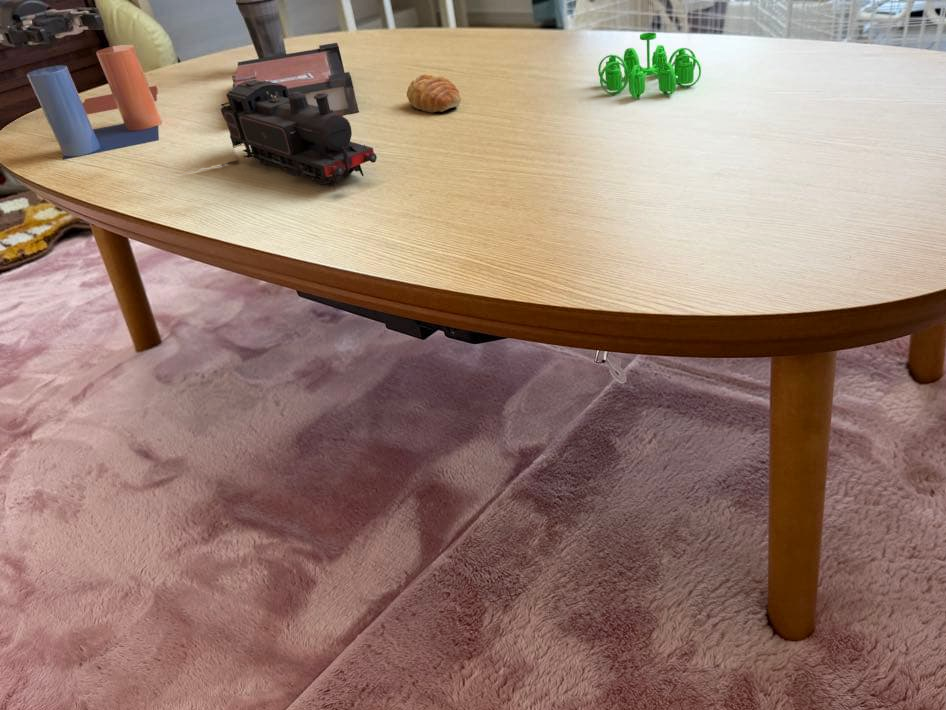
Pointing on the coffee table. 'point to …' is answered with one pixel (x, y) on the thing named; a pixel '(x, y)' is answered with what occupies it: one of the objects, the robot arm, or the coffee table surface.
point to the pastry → (433, 93)
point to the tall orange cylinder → (129, 87)
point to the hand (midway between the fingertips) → (72, 28)
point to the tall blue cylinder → (64, 110)
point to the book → (305, 76)
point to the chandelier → (649, 70)
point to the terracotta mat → (107, 102)
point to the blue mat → (122, 137)
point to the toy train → (292, 131)
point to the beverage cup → (263, 26)
